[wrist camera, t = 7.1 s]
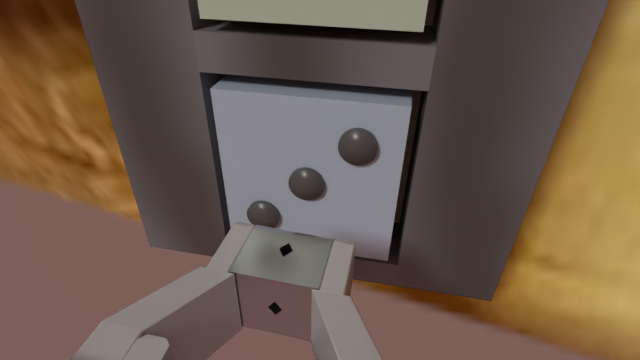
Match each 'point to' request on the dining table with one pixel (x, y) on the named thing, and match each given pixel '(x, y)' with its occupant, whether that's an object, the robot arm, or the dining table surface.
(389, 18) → the tile two
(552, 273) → the dining table surface
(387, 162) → the tile three
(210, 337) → the robot arm
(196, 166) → the rack
